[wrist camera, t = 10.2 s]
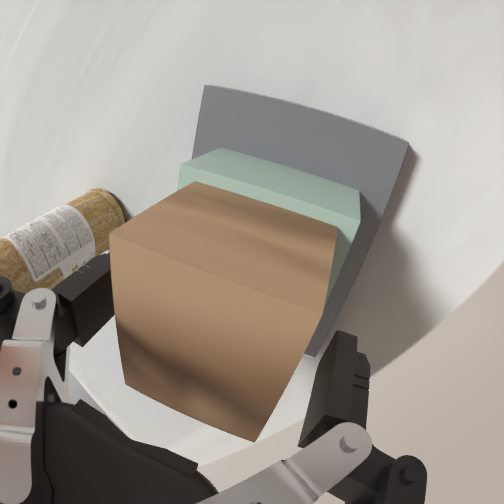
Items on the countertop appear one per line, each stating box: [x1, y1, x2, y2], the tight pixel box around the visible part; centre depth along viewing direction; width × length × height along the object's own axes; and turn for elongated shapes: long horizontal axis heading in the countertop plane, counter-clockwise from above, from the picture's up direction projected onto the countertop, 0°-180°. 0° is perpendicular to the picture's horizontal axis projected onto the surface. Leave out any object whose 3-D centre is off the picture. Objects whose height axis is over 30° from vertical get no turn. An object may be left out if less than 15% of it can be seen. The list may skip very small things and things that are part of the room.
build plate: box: [177, 85, 409, 357], centre depth 15 cm, size 14×10×5 cm
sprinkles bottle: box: [0, 189, 125, 294], centre depth 15 cm, size 5×5×14 cm
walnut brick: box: [109, 181, 338, 442], centre depth 11 cm, size 7×6×5 cm
